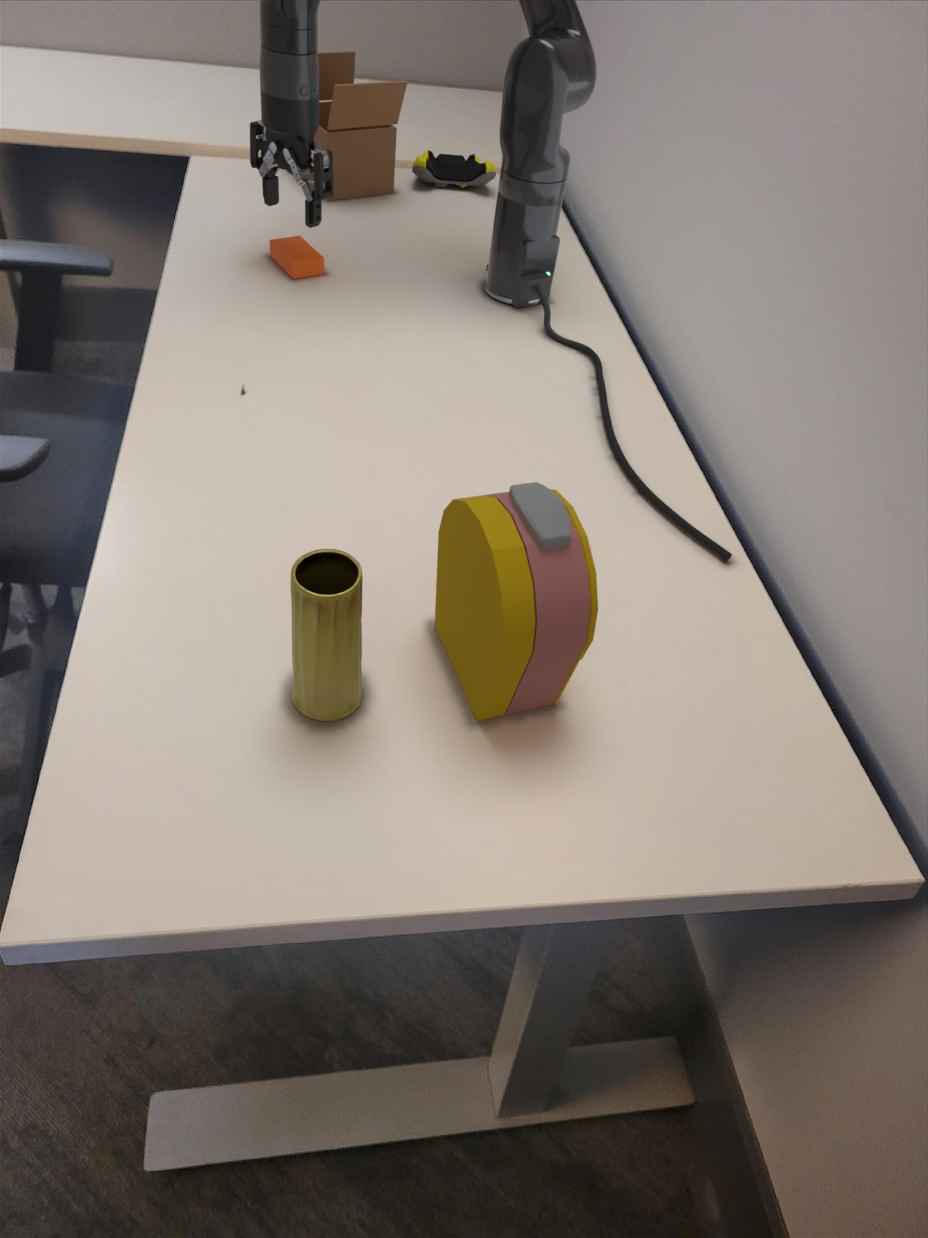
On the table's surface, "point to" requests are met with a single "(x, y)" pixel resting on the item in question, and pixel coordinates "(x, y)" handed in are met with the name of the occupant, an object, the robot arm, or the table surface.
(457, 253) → the table surface
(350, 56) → the cardboard box
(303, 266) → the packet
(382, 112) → the box flap
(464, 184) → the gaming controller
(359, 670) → the vase
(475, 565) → the tape measure
